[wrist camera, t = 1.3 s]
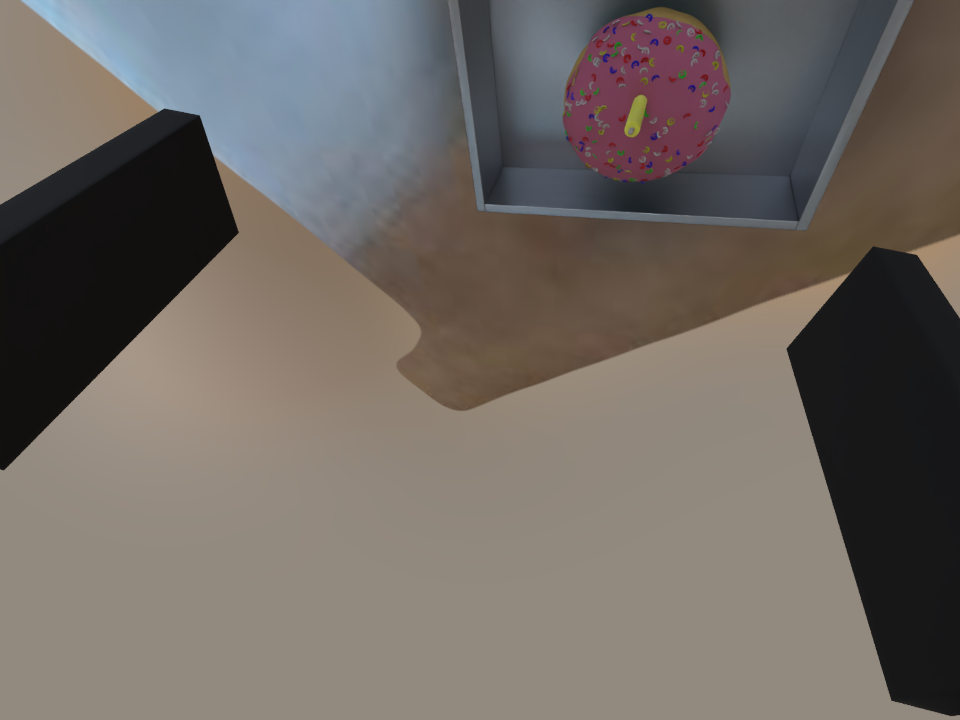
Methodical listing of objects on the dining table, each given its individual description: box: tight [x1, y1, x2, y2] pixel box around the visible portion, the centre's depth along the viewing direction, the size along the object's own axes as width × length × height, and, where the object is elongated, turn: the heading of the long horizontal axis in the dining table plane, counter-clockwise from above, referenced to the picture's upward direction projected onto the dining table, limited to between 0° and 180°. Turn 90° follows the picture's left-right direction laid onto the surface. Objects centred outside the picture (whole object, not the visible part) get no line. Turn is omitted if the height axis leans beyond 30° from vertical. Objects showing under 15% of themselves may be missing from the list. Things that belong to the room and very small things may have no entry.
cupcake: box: [562, 7, 731, 184], centre depth 25 cm, size 9×8×12 cm
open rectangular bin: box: [448, 0, 914, 231], centre depth 27 cm, size 20×14×5 cm
